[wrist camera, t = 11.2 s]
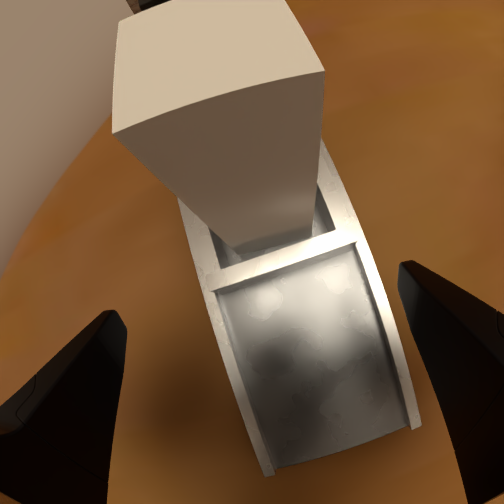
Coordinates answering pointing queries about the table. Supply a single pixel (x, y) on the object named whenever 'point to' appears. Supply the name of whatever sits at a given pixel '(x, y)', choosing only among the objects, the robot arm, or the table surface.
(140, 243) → the table surface
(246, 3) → the white angular block
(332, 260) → the rail
